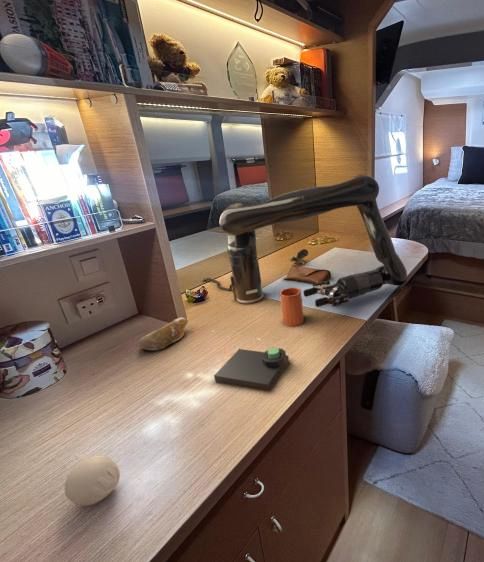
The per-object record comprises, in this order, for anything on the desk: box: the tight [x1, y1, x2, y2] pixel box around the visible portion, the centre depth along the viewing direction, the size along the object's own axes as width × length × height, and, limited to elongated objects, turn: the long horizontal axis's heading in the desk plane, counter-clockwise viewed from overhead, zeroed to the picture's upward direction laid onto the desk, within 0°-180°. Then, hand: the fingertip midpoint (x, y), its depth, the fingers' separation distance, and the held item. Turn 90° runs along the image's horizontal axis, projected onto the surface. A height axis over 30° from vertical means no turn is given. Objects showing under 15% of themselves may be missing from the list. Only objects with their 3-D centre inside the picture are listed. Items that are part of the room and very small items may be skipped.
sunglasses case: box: [283, 264, 332, 285], centre depth 135 cm, size 18×7×7 cm, turn 66°
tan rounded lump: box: [64, 455, 121, 507], centre depth 54 cm, size 7×7×7 cm
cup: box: [279, 287, 305, 327], centre depth 103 cm, size 6×6×10 cm
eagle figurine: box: [289, 248, 309, 267], centre depth 150 cm, size 8×7×9 cm
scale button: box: [267, 347, 280, 359], centre depth 83 cm, size 3×3×2 cm
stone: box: [135, 316, 189, 351], centre depth 96 cm, size 7×6×15 cm
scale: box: [213, 347, 290, 392], centre depth 82 cm, size 14×11×4 cm
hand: (309, 298), depth 105 cm, fingers open, 8 cm apart
